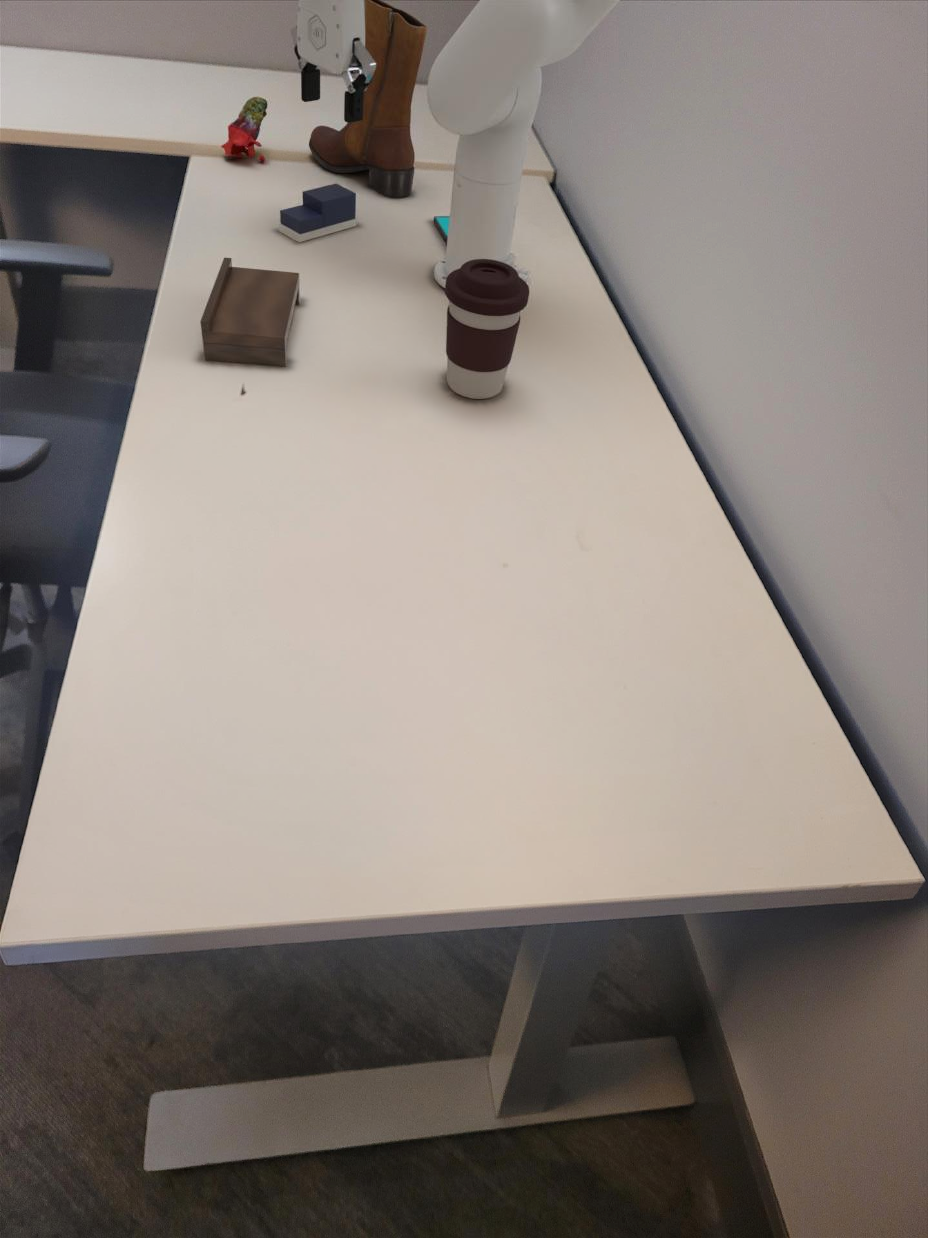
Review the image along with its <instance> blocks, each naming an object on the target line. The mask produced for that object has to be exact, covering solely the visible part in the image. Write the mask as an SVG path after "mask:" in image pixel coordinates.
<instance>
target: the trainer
mask: <svg viewBox="0 0 928 1238" xmlns="http://www.w3.org/2000/svg"><path fill="white" fill-rule="evenodd" d="M301 193H302V204H299V205H297V206H293V207H289V208H285V209H281V210H279V218H280V223H279V225H278V226H279V227H278V229H279V231H278V232H279V233H281V234H283V235H285V236H287V237H288V238H290V239H292V240H293V241H295V242H297V243H302V242H306V241H309V240H313V239H316V238H320V237H323V236H326V235H330V234H333V233H337V232H340V231H344V230H347V229H350V228H354V227H357V218H356V215H357V214H356V213H357V212H356V210H357V208H356V207H357V204H356V203H357V193H356V192H355V191H352V190H351V189H348V188H346V187H345V186H342V185H340V184H338V183H332V184H328V185H327V184H326V185H324V186H320V187H315V188H311V189H307V190H304V191H302V192H301Z"/></svg>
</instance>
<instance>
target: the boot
mask: <svg viewBox="0 0 928 1238" xmlns="http://www.w3.org/2000/svg"><path fill="white" fill-rule="evenodd" d="M364 15H365V48H366V50H367V51H368V52H369V54H370V55H371V56H372V58H373V59H374V61H375V62H376V69H375V72H374V74H373V77H372V82H371V83H370V84H369V85H368V87H367V90H366V91H364V103H363V119H362V120H361V121H357V122H351V123H347V122H346V124H345V125H344V126H343V127H342V128H341V129H340V130H338V129H335V128H333V127H330V126H327V125H318V126H316V127H314V128H313V130H312V131H311V133H310V138H309V141H308V147H309V150H310V153H311V154H312V156H313V158H314V159H315V160H316V161H317V162H318V163H319V164H320V165H321V166H322V167H323V168H325V169H326V170H328V171H330V172H333V173H337V174H346V173H348V174H349V173H357V172H358V173H359V172H365V171H369V187H370V188H372V189H373V190H374V191H376V192H377V193H379V194H381V195H383V196H385V197H389V198H394V199H404V198H407V197H409V196H410V195H411V194H412V189H413V183H414V177H415V176H414V175H415V166H414V165H415V148H414V145H413V141H412V134H411V121H412V120H411V119H412V102H413V95H414V91H415V88H416V87H415V86H416V82H417V78H418V74H419V73H418V72H419V69H420V64H421V60H422V56H423V55H422V54H423V50H424V46H425V41H426V35H427V29H428V27H427V26H426V25H425V24H424V23H423V22H421V21H420V20H418V19H417V18H416V17H415V16H414V15H411V14H410V13H409V12H407V11H405V10H403V9H399V8H397V7H394V6H393V5H391V4H389V3H387V2H385V1H383V0H364Z"/></svg>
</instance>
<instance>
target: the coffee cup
mask: <svg viewBox="0 0 928 1238" xmlns="http://www.w3.org/2000/svg"><path fill="white" fill-rule="evenodd" d="M444 294H445V297H446V298H447V300H448V302H449V303H448V306H447V309H446V334H445V335H446V336H445V337H446V338H445V339H446V340H445V354H446V356H447V362H446V382H447V385H448V387H449V388H450V389H451V391H453V393H455V394H457V395H459V396H461V397H464V398H467V399H472V400H473V399H475V400H485V399H490V398H493V397H495V396H497V395H499V394H500V393H501V392H502V390H503V388H504V384H505V379H506V375H507V371H508V366H509V365H510V363H511V361H512V358H513V353H514V348H515V344H516V341H517V336H518V333H519V328H520V324H521V311H524V309H525V308H527V305H528V303H529V297H530V286H529V287H528V285H527V283H526V282H525V281H524V280H523V279H522V278H520V277H519V275H518V273H517V271H516V270H515V269H514V268H513V267H511V266H510V265H508V264H506V263H503V262H500V261H496V260H491V259H476V260H470V261H468V262H466V263H464V264H463V265H462V266H461V268H460V269H456V270H454V271H452V272H451V273H450V274H449V275H448V276H447V278H446V284H445V288H444Z"/></svg>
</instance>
